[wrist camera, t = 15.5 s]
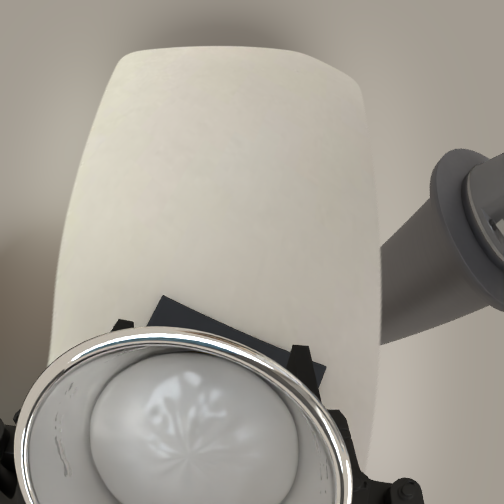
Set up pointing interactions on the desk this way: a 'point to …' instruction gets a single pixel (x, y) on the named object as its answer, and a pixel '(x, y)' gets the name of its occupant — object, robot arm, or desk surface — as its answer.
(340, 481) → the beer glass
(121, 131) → the desk surface
